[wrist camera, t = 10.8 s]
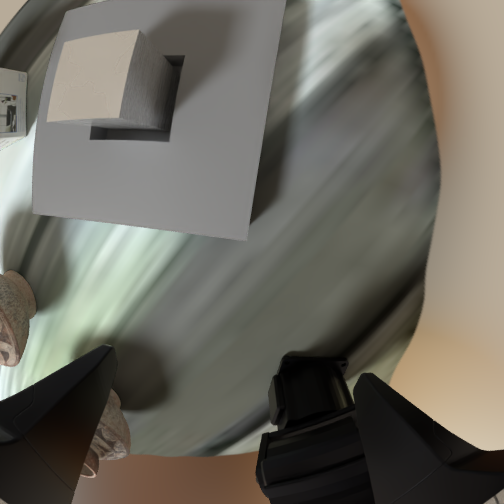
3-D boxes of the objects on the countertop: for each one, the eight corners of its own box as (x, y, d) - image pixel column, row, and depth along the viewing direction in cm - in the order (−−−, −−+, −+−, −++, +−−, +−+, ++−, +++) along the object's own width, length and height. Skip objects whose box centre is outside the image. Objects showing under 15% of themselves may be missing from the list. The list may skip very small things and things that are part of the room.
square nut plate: (280, 18, 14) (286, -2, 11) (246, 228, 19) (246, 241, 17) (83, 23, 13) (66, 11, 10) (54, 205, 18) (32, 213, 15)
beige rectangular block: (180, 75, 15) (139, 29, 8) (170, 131, 16) (118, 117, 9) (126, 76, 15) (64, 42, 7) (117, 129, 16) (46, 122, 9)
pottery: (17, 229, 19) (-73, 279, 8) (162, 413, 26) (141, 501, 15) (-18, 277, 20) (-79, 324, 9) (103, 424, 28) (78, 492, 17)
